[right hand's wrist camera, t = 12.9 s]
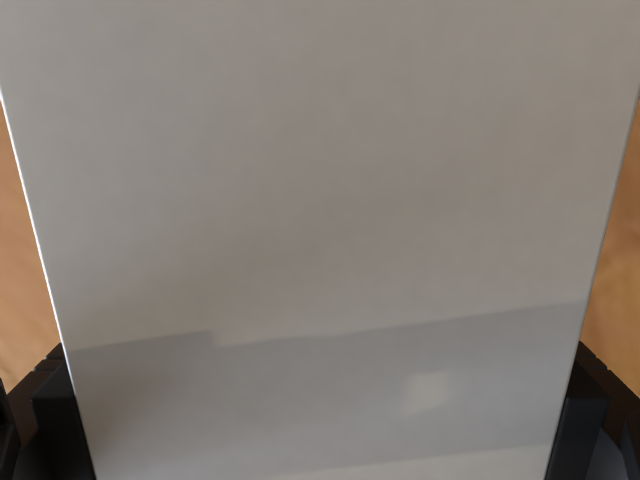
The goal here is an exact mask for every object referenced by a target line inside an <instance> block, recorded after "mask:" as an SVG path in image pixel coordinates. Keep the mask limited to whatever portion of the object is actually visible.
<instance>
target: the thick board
mask: <svg viewBox="0 0 640 480" xmlns="http://www.w3.org/2000/svg"><path fill="white" fill-rule="evenodd" d="M639 95H640V0H0V98H1V102H2V106H3V110H4V114H5V118H6V122H7V126H8V130H9V134H10V138H11V142H12V146H13V150H14V154H15V158H16V162H17V166H18V170H19V174H20V178H21V182H22V186H23V190H24V194H25V198H26V202H27V206H28V210H29V214H30V218H31V222H32V226H33V230H34V234H35V238H36V242H37V246H38V250H39V254H40V258H41V262H42V266H43V270H44V274H45V278H46V282H47V286H48V290H49V294H50V298H51V302H52V306H53V310H54V314H55V318H56V322H57V326H58V330H59V334H60V338H61V342H62V346H63V350H64V354H65V358H66V362H67V366H68V370H69V374H70V378H71V382H72V386H73V390H74V394H75V398H76V402H77V406H78V410H79V414H80V418H81V422H82V426H83V430H84V434H85V438H86V442H87V446H88V450H89V454H90V458H91V462H92V466H93V470H94V474H95V478H96V480H545V476H546V472H547V468H548V464H549V460H550V456H551V452H552V448H553V444H554V440H555V436H556V432H557V427H558V423H559V419H560V415H561V411H562V407H563V403H564V399H565V395H566V391H567V387H568V383H569V379H570V375H571V371H572V367H573V363H574V359H575V355H576V350H577V346H578V342H579V338H580V334H581V330H582V326H583V322H584V318H585V314H586V310H587V306H588V302H589V298H590V294H591V290H592V286H593V282H594V277H595V273H596V269H597V265H598V261H599V257H600V253H601V249H602V245H603V241H604V237H605V233H606V229H607V225H608V221H609V217H610V213H611V209H612V205H613V200H614V196H615V192H616V188H617V184H618V180H619V176H620V172H621V168H622V164H623V160H624V156H625V152H626V148H627V144H628V140H629V136H630V132H631V128H632V123H633V119H634V115H635V111H636V107H637V103H638V99H639Z"/></svg>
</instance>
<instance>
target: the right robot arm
mask: <svg viewBox="0 0 640 480" xmlns="http://www.w3.org/2000/svg"><path fill="white" fill-rule="evenodd" d="M0 480H96V478H95V474H94V470H93V466H92V462H91V458H90V454H89V450H88V446H87V442H86V438H85V434H84V430H83V426H82V422H81V418H80V414H79V410H78V406H77V402H76V398H75V394H74V390H73V386H72V382H71V378H70V374H69V370H68V366H67V362H66V358H65V354H64V350H63V346H62V342H61V343H59V344H58V345H57V346H56V347H55V348H54V349H53V350H52V351H51V352H50V353H49V354H48V355H47V356H46V357H45V360H42V361H41V362H40V363H39V364H38V365H37V366H36V367H35V368H34V370H33V371H31V372H30V373H29V374H28V375H27V376H26V377H25V378H24V379H22V380H21V381H20V382H19V383H18V384H17V385H16V386H15V387H14V388H13V389H12V390H11V391H10V392H9V393H8V394H7V395H6V392H5V389H4V386H3V382H2V379H1V378H0ZM545 480H640V399H639V398H638V397H637V396H636V395H635V394H634V393H633V392H632V391H631V390H630V389H629V388H628V387H627V386H626V385H625V384H624V383H623V382H622V381H621V380H620V379H619V378H618V377H617V376H616V375H615V374H614V373H613V372H612V371H611V370H608V369H607V366H606V365H605V364H604V363H603V362H602V361H601V360H600V359H599V358H596V355H594V354H593V353H592V352H591V351H590V350H589V349H588V348H587V347H586V346H585V345H584V344H583V343H582V342H581V341H579V342H578V346H577V350H576V355H575V359H574V363H573V367H572V371H571V375H570V379H569V383H568V387H567V391H566V395H565V399H564V403H563V407H562V411H561V415H560V419H559V423H558V427H557V432H556V436H555V440H554V444H553V448H552V452H551V456H550V460H549V464H548V468H547V472H546V476H545Z"/></svg>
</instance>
